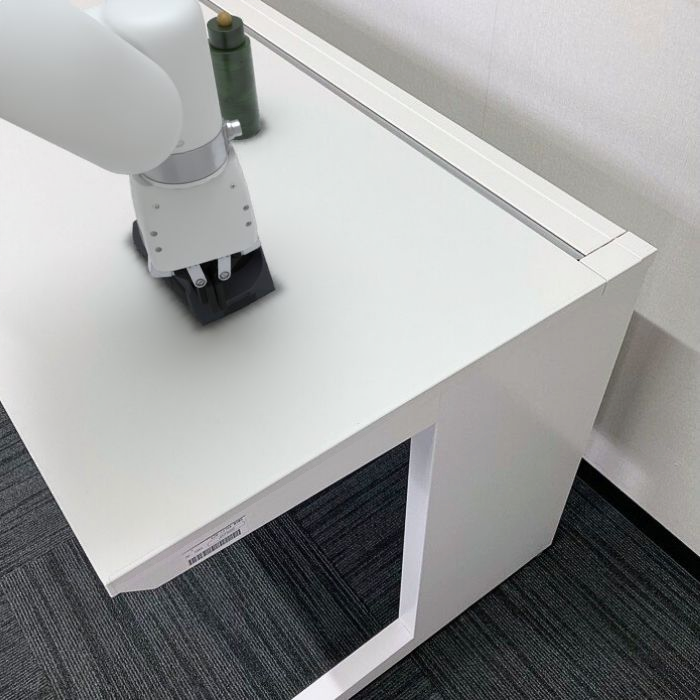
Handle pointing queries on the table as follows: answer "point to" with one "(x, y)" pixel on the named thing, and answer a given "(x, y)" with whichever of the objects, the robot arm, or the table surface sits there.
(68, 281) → the table surface
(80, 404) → the table surface
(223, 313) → the sight
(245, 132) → the pepper mill
